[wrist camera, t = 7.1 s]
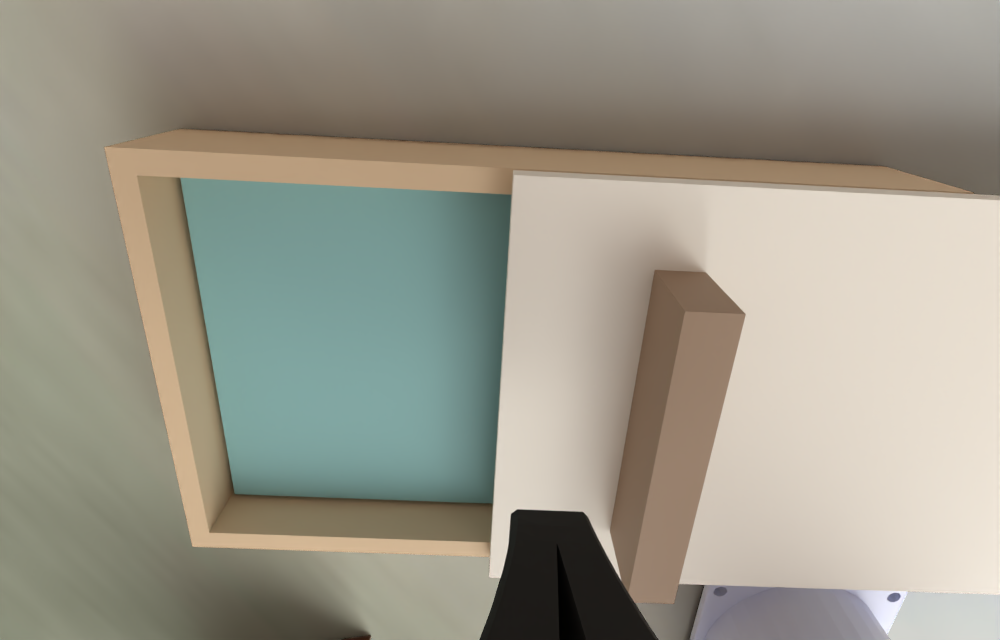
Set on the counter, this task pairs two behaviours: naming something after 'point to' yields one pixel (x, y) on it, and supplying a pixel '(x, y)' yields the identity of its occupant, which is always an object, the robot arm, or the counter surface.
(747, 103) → the counter surface
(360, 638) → the food container
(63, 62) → the counter surface
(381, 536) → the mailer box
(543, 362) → the box lid
